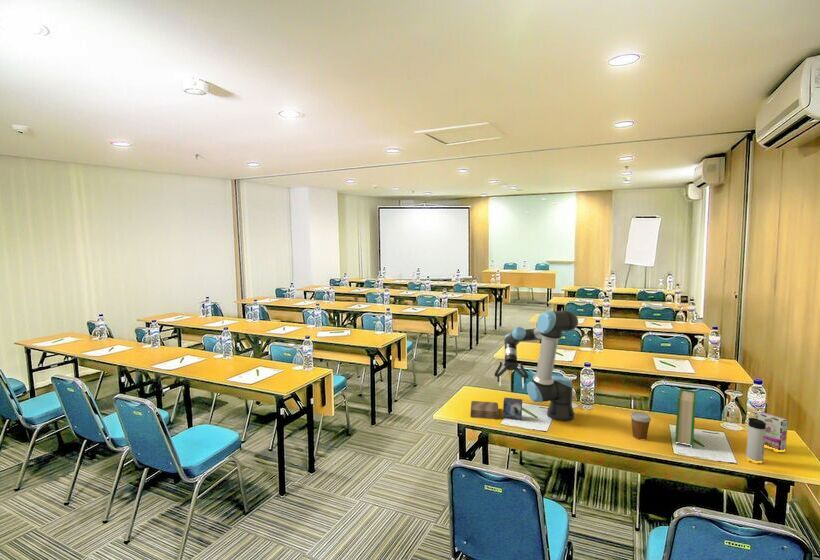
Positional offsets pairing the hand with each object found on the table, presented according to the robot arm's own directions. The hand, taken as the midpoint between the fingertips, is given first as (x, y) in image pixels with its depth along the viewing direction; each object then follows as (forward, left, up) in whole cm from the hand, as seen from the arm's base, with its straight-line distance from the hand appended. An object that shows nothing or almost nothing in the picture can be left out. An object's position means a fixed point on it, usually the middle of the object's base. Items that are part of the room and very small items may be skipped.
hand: (511, 387), depth 257 cm
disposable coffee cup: (-64, +24, -15) cm, 70 cm away
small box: (0, +10, -15) cm, 18 cm away
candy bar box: (-124, +25, -15) cm, 128 cm away
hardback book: (-86, +23, -15) cm, 90 cm away
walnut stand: (+16, +6, -14) cm, 22 cm away
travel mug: (-108, +41, -15) cm, 117 cm away
